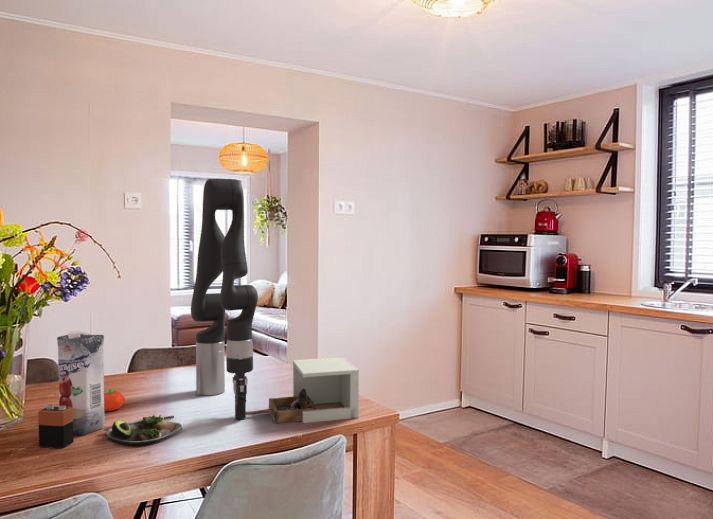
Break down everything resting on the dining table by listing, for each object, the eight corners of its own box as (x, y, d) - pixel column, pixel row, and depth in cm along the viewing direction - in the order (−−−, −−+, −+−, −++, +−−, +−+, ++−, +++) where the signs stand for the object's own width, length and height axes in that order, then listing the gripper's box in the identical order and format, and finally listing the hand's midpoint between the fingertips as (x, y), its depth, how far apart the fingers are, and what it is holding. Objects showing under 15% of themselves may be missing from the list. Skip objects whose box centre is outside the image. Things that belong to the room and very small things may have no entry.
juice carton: (83, 421, 153) (82, 326, 152) (109, 427, 148) (108, 329, 147) (54, 431, 145) (52, 331, 144) (80, 438, 140) (78, 334, 139)
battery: (50, 441, 139) (49, 402, 138) (74, 442, 138) (73, 403, 137) (37, 447, 134) (37, 407, 134) (62, 449, 133) (62, 408, 133)
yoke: (236, 426, 149) (236, 401, 149) (233, 411, 163) (233, 387, 162) (316, 419, 155) (316, 395, 155) (307, 404, 169) (307, 382, 169)
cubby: (303, 422, 153) (303, 373, 152) (293, 404, 169) (293, 360, 169) (358, 417, 157) (358, 369, 156) (343, 400, 174) (343, 357, 173)
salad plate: (153, 417, 158) (153, 401, 158) (198, 428, 149) (198, 411, 149) (93, 439, 141) (93, 421, 141) (140, 452, 133) (140, 433, 132)
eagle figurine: (320, 410, 160) (311, 397, 168) (309, 393, 157) (300, 380, 165) (299, 426, 158) (290, 412, 166) (286, 409, 155) (278, 395, 163)
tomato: (107, 416, 159) (103, 395, 159) (95, 410, 165) (92, 390, 164) (130, 408, 165) (127, 387, 164) (119, 402, 170) (116, 383, 169)
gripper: (224, 350, 161) (225, 408, 162) (227, 360, 148) (228, 423, 148) (250, 349, 163) (251, 405, 164) (255, 358, 150) (256, 420, 151)
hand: (240, 413), depth 156 cm, fingers closed on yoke, 3 cm apart
